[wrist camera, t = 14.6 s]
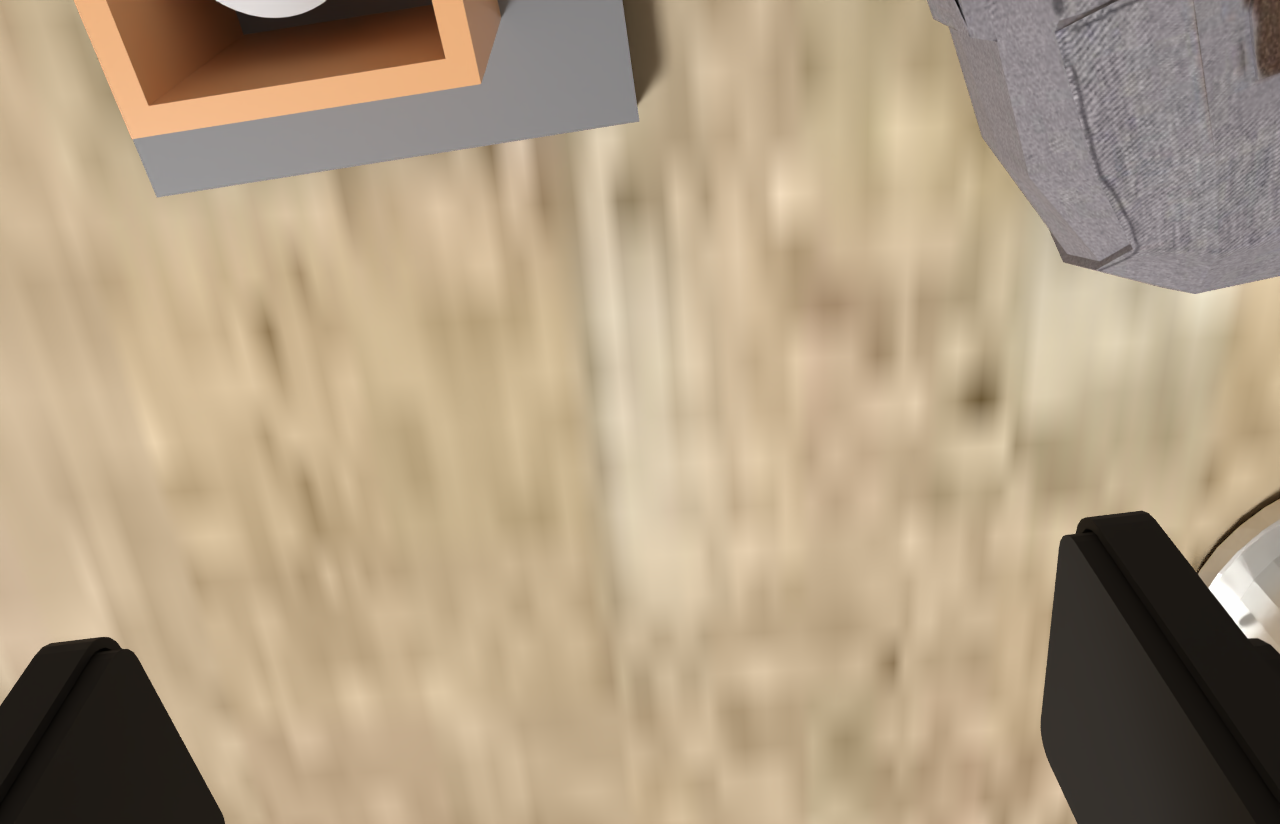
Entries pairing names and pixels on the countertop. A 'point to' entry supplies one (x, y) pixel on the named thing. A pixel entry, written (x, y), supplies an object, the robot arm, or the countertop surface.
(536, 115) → the gray plate with knob
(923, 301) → the countertop surface
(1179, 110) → the soft grey pack
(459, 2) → the orange cube cubby
